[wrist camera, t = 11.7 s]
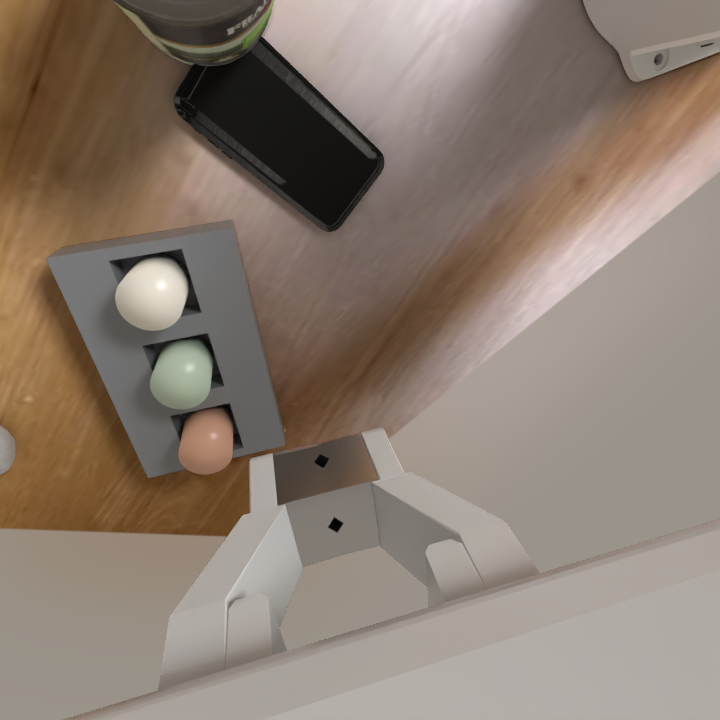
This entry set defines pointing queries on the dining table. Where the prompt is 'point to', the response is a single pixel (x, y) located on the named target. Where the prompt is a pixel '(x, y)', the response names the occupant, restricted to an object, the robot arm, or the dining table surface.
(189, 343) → the sage button
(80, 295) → the grey rectangular tray
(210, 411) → the terracotta button
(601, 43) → the dining table surface
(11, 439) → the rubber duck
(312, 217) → the phone
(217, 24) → the coffee can
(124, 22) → the dining table surface
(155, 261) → the ivory button
